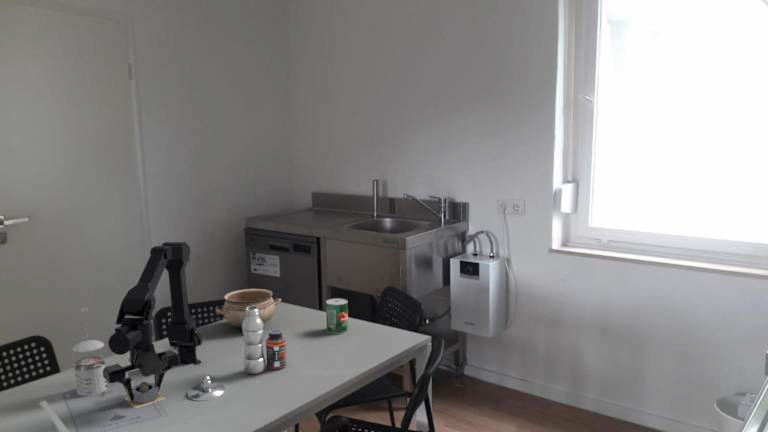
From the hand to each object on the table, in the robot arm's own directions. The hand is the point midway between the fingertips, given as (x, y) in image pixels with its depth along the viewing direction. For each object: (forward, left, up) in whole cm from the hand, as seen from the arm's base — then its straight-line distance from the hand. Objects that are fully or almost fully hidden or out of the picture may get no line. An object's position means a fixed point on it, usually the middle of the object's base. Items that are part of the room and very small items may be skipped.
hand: (144, 395), depth 161 cm
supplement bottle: (+4, +39, -2) cm, 39 cm away
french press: (-17, -9, -2) cm, 19 cm away
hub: (+8, +14, -2) cm, 16 cm away
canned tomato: (-9, +73, -2) cm, 74 cm away
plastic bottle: (+3, +32, -2) cm, 32 cm away
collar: (0, 0, -1) cm, 1 cm away
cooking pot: (-35, +52, -2) cm, 63 cm away
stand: (0, 0, -2) cm, 2 cm away
